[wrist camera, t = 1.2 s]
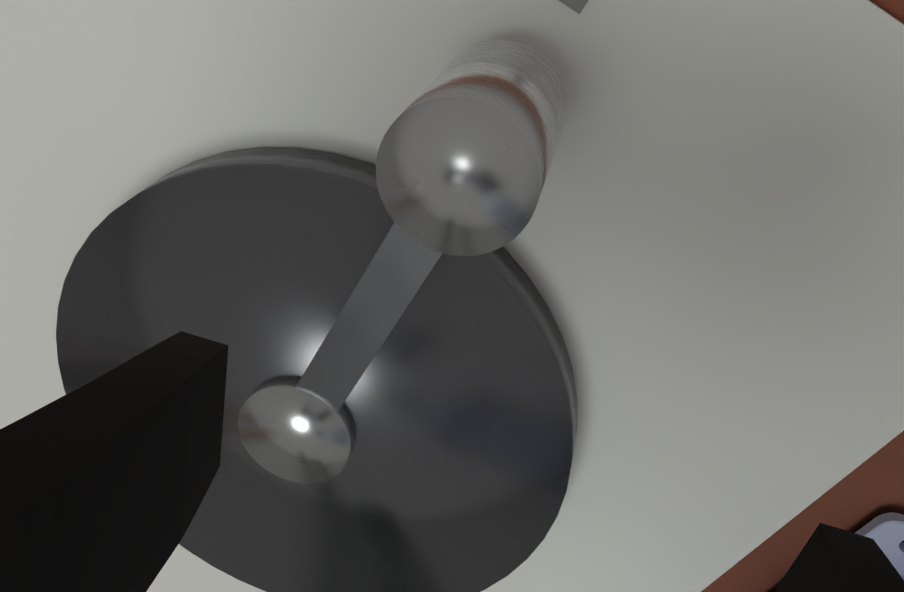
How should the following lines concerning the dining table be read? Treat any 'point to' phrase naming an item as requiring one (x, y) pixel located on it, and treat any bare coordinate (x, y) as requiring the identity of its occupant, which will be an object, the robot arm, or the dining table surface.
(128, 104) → the dial plate
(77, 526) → the robot arm
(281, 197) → the dial
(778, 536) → the dining table surface
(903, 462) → the dining table surface
